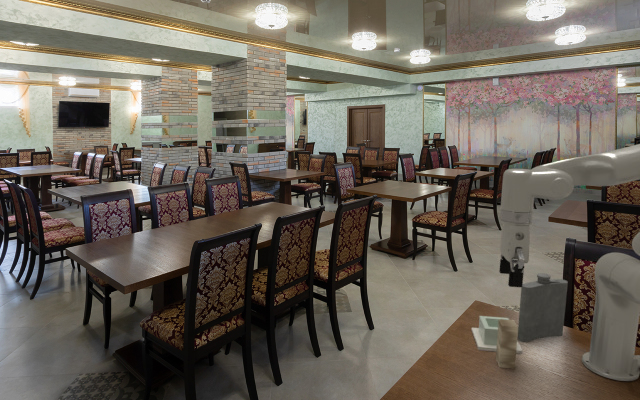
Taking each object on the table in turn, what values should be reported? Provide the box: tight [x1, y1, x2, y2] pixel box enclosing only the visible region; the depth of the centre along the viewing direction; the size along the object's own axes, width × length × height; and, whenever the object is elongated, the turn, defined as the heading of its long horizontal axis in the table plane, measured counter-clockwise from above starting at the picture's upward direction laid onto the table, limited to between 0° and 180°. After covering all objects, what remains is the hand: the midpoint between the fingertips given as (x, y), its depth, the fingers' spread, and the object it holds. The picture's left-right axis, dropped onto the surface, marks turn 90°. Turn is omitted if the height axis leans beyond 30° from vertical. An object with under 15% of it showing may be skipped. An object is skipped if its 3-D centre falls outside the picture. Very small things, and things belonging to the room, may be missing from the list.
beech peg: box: [495, 319, 518, 369], centre depth 110 cm, size 4×4×12 cm
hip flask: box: [517, 272, 569, 343], centre depth 124 cm, size 16×4×20 cm, turn 105°
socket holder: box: [471, 315, 524, 355], centre depth 123 cm, size 12×12×6 cm
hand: (510, 279), depth 107 cm, fingers open, 9 cm apart
